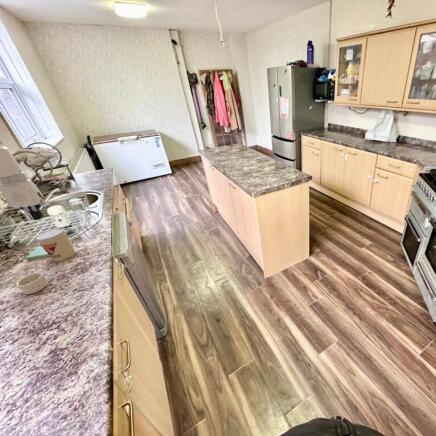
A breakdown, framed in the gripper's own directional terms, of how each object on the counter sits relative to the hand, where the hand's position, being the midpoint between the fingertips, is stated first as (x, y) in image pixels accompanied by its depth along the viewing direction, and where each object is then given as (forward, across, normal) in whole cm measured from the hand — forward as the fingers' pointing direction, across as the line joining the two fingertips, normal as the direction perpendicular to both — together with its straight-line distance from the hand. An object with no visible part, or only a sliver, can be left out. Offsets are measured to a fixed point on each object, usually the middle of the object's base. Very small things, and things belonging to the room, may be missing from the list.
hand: (39, 218), depth 102 cm
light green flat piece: (+16, -4, -1) cm, 17 cm away
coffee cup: (+17, +6, -8) cm, 19 cm away
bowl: (+16, +6, -28) cm, 33 cm away
